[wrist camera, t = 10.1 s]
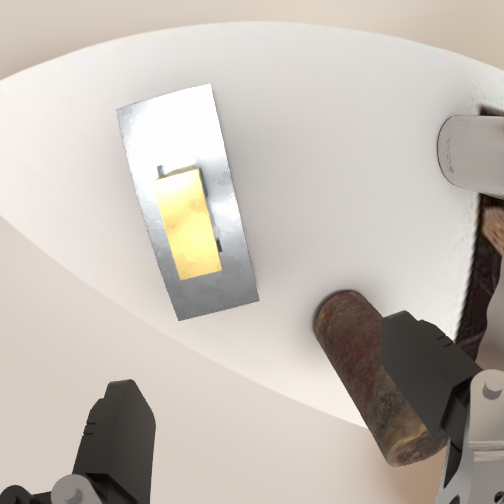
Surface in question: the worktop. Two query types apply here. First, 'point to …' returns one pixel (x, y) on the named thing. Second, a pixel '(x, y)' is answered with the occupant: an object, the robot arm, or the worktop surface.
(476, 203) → the worktop surface
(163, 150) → the grey slotted base
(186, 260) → the yellow block
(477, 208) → the worktop surface
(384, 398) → the brown cylinder
